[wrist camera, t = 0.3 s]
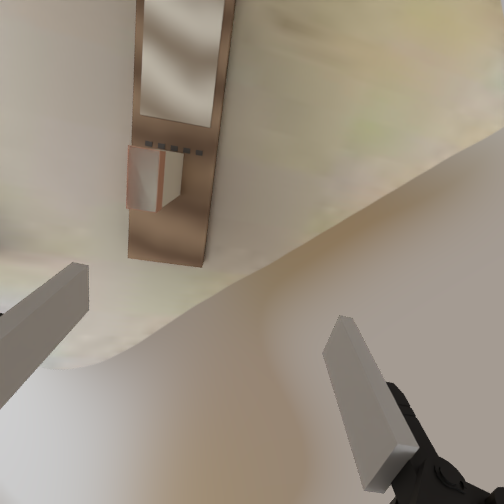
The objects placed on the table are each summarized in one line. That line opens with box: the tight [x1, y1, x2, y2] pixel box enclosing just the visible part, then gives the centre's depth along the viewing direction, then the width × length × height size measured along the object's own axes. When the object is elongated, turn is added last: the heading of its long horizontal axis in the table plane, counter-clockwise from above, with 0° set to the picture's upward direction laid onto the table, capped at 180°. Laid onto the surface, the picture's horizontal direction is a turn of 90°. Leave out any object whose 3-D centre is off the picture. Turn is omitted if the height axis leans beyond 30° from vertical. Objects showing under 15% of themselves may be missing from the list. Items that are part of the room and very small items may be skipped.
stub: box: [126, 145, 184, 213], centre depth 29 cm, size 5×2×12 cm, turn 170°
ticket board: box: [128, 0, 236, 268], centre depth 34 cm, size 33×10×3 cm, turn 170°
